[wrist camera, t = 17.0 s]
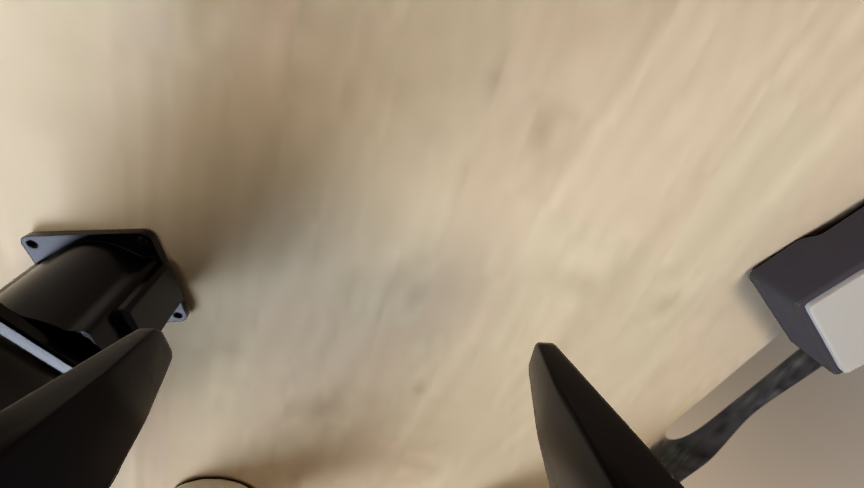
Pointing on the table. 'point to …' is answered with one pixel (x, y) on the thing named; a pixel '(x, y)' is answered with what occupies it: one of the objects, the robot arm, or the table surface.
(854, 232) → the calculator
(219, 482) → the travel mug
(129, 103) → the table surface
